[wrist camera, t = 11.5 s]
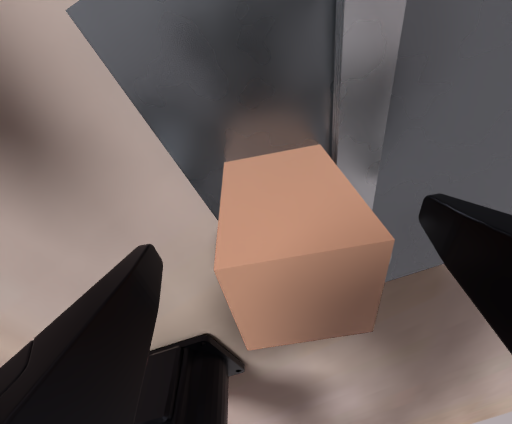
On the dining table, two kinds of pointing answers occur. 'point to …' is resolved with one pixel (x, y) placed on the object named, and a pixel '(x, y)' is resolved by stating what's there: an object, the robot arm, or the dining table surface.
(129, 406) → the robot arm
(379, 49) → the crank
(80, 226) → the dining table surface
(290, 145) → the base plate
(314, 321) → the block
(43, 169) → the dining table surface
